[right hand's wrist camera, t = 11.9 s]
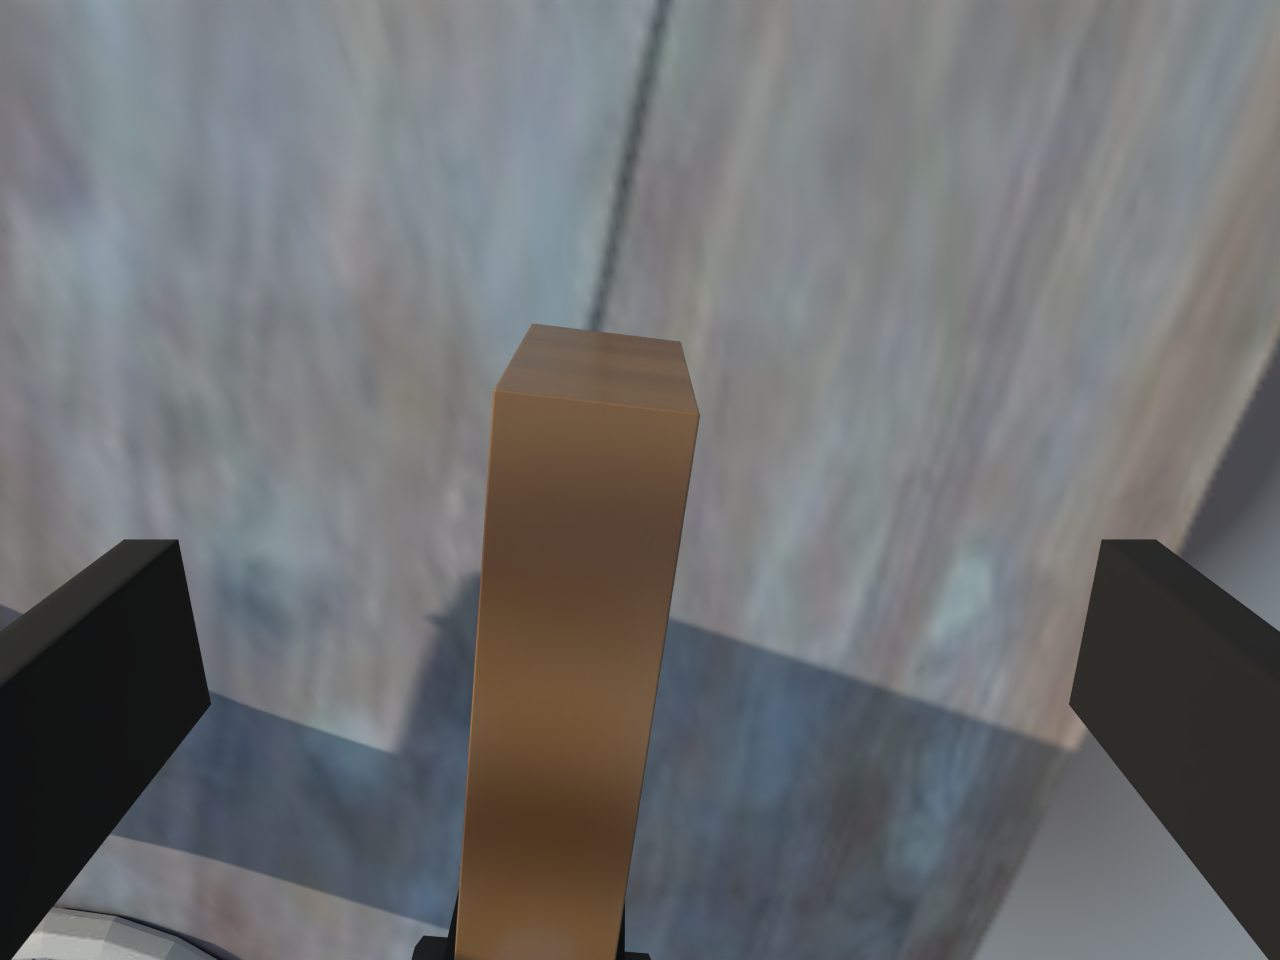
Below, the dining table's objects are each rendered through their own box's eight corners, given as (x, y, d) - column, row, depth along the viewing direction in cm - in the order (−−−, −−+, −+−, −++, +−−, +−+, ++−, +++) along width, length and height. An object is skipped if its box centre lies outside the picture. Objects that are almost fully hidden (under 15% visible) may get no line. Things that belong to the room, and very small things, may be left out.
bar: (531, 323, 28) (493, 389, 21) (681, 341, 29) (700, 413, 21) (481, 925, 37) (442, 1131, 30) (596, 935, 38) (587, 1141, 30)
